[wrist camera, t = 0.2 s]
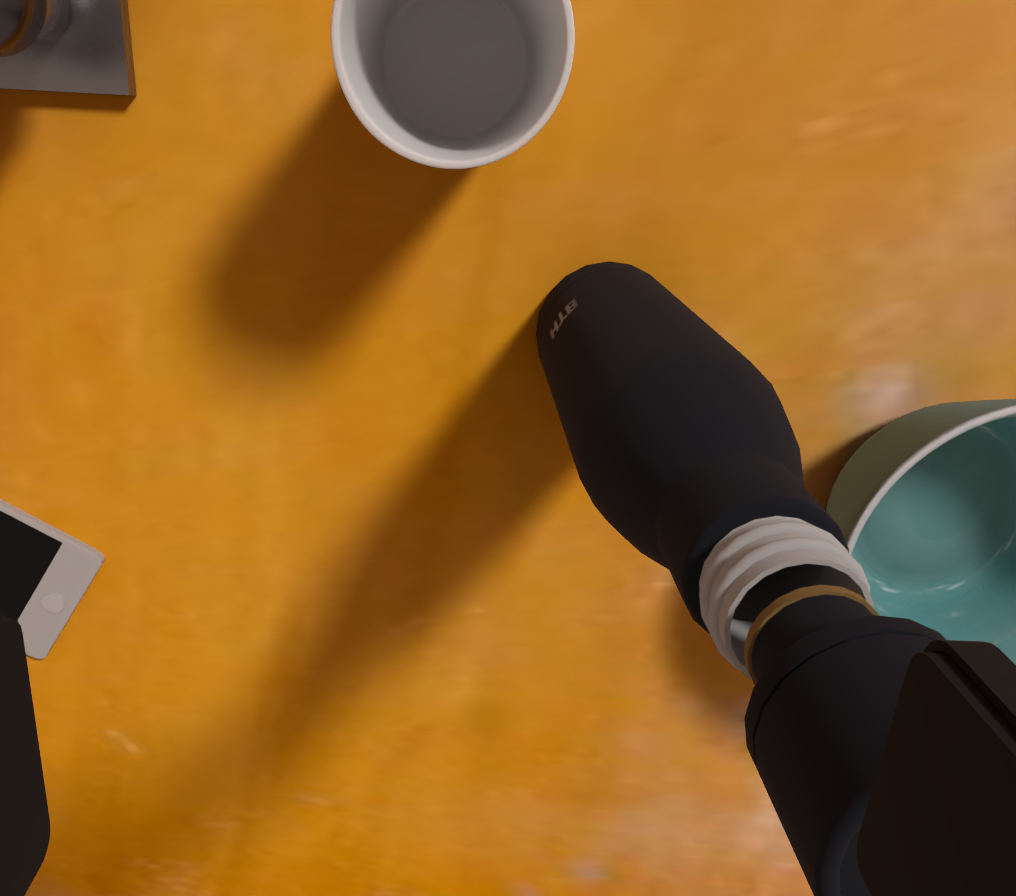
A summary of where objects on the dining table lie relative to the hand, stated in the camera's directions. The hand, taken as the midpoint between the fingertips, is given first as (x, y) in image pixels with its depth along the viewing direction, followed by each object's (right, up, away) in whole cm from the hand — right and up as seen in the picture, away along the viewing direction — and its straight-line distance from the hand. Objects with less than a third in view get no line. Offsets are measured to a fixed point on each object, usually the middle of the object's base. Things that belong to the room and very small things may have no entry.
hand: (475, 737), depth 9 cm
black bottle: (+5, +8, +30) cm, 32 cm away
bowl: (+21, +1, +35) cm, 41 cm away
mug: (-1, +20, +26) cm, 32 cm away
